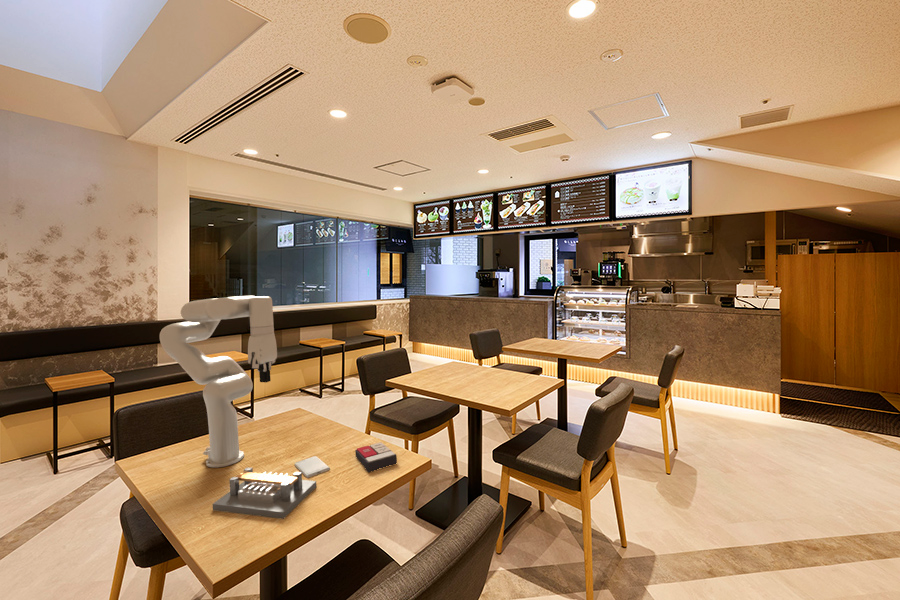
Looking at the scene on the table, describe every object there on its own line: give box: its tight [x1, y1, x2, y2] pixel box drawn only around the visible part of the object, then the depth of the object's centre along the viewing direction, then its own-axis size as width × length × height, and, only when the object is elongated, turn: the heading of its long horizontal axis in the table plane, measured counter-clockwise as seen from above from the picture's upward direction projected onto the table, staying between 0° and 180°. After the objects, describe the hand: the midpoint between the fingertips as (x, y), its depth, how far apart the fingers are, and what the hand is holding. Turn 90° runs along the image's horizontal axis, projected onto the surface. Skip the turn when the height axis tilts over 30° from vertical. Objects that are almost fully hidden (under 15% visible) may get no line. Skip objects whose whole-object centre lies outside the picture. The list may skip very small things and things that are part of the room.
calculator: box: [354, 441, 398, 473], centre depth 144 cm, size 11×4×15 cm
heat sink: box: [228, 466, 303, 503], centre depth 120 cm, size 20×10×5 cm, turn 77°
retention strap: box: [235, 470, 298, 486], centre depth 120 cm, size 20×4×2 cm, turn 77°
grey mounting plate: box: [212, 479, 318, 520], centre depth 120 cm, size 24×17×2 cm
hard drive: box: [294, 455, 331, 479], centre depth 139 cm, size 2×8×12 cm
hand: (265, 381), depth 138 cm, fingers closed
